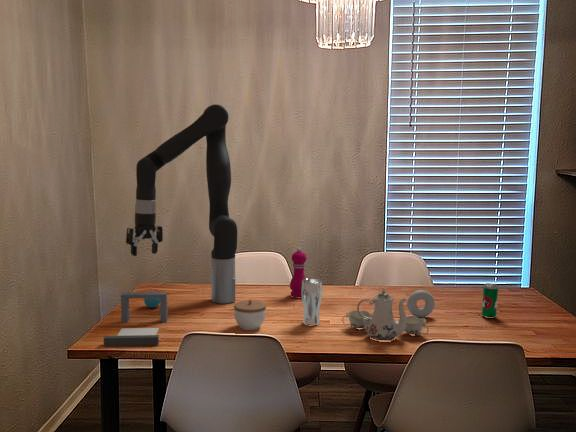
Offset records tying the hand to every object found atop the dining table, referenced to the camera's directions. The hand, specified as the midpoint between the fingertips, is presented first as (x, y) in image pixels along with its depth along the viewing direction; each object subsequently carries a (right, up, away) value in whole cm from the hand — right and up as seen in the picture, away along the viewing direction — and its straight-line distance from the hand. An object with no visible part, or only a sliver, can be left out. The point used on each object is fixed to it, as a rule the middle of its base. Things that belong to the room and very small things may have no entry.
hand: (144, 254), depth 204 cm
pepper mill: (+58, -18, +17) cm, 63 cm away
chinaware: (+85, -25, -28) cm, 92 cm away
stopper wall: (+6, -25, -39) cm, 46 cm away
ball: (+3, -17, -1) cm, 17 cm away
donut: (+101, -22, -9) cm, 104 cm away
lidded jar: (+41, -23, -22) cm, 52 cm away
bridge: (+5, -22, -17) cm, 28 cm away
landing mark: (+6, -24, -30) cm, 39 cm away
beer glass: (+62, -23, -17) cm, 68 cm away
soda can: (+126, -22, -8) cm, 128 cm away
